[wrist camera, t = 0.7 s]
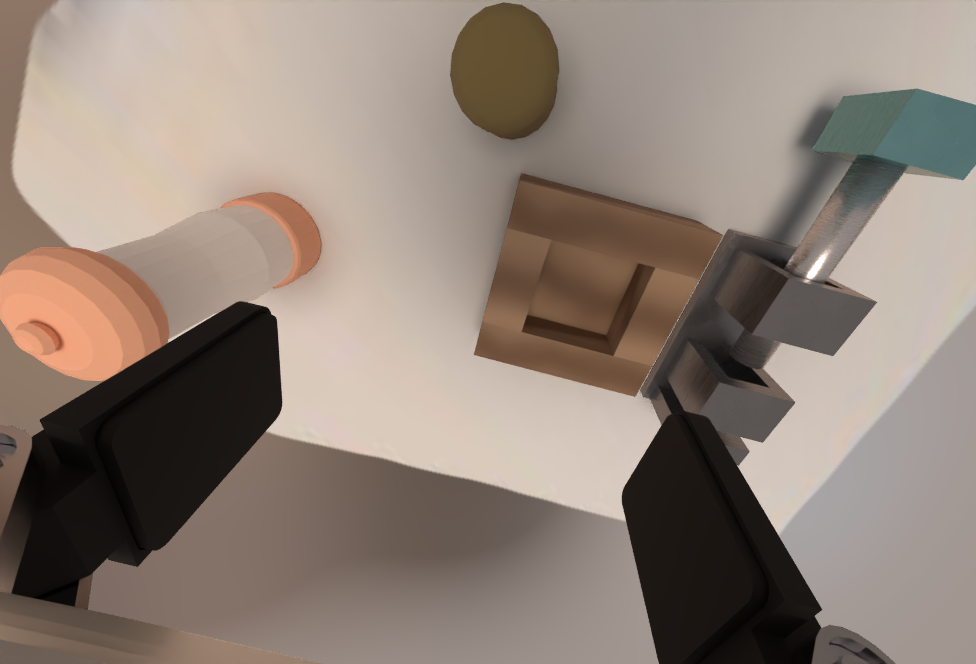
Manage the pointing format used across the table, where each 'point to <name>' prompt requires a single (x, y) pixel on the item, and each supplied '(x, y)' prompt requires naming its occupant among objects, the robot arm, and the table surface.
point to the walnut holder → (590, 285)
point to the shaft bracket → (762, 312)
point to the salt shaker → (152, 284)
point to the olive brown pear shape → (505, 70)
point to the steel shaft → (873, 176)
